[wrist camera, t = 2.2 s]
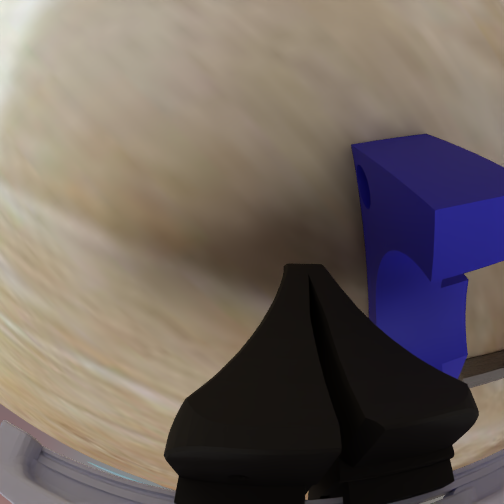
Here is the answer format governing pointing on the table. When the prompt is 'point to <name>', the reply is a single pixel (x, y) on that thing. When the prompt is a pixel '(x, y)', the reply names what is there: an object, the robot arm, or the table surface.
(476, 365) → the rail
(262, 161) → the table surface
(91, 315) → the table surface
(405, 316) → the cable clip
